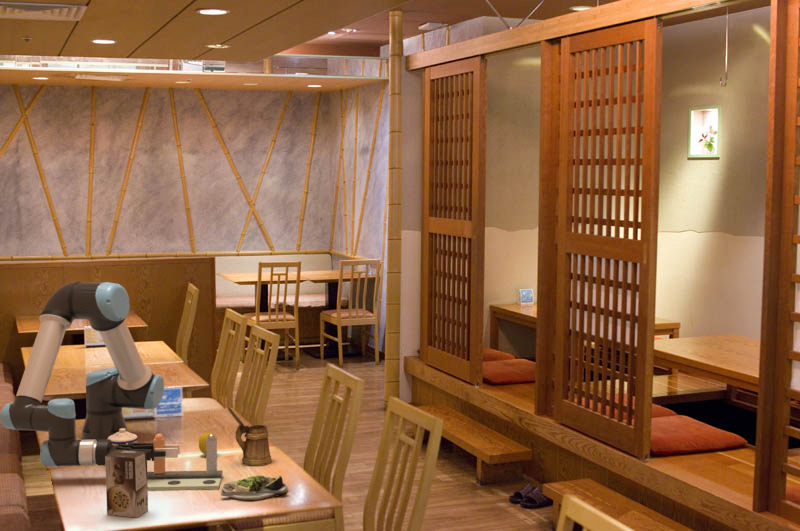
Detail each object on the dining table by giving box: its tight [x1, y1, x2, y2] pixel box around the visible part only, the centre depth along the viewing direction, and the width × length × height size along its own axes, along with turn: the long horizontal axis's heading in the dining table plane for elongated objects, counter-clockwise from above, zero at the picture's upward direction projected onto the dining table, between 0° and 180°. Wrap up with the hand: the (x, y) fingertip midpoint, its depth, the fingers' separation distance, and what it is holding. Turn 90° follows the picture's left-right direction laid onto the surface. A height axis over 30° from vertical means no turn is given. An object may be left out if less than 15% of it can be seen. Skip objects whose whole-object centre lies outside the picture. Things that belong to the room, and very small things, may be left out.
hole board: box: [147, 478, 222, 492], centre depth 276 cm, size 7×25×1 cm, turn 95°
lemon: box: [198, 431, 213, 456], centre depth 307 cm, size 6×6×8 cm
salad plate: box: [220, 475, 288, 501], centre depth 271 cm, size 19×18×5 cm
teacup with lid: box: [108, 428, 139, 446], centre depth 296 cm, size 12×9×12 cm
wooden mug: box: [227, 407, 273, 467], centre depth 299 cm, size 9×14×18 cm, turn 106°
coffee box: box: [104, 450, 149, 518], centre depth 253 cm, size 9×6×16 cm
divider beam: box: [147, 433, 224, 481], centre depth 282 cm, size 3×27×14 cm, turn 95°
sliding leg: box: [153, 433, 166, 474], centre depth 281 cm, size 3×3×12 cm
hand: (178, 451), depth 282 cm, fingers closed on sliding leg, 3 cm apart
